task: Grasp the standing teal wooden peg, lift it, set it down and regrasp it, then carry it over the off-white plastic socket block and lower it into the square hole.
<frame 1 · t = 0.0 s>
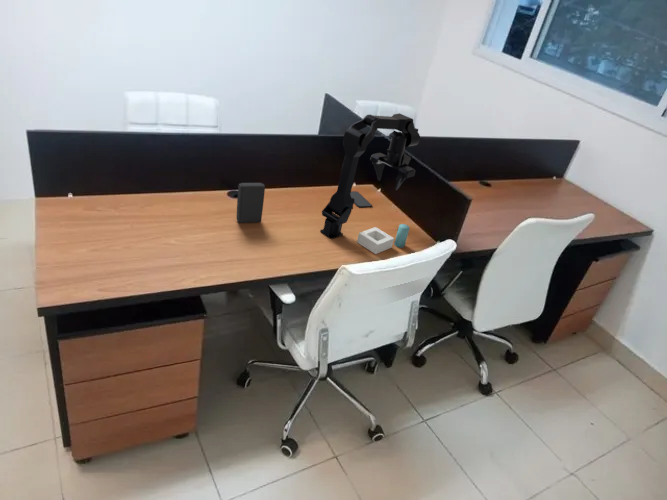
hand: (387, 185, 191), 15 cm above the table, fingers open, 9 cm apart
socket: (374, 244, 179), on the table
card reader: (248, 221, 178), on the table
smartphone: (357, 200, 210), on the table
peg: (399, 244, 182), on the table
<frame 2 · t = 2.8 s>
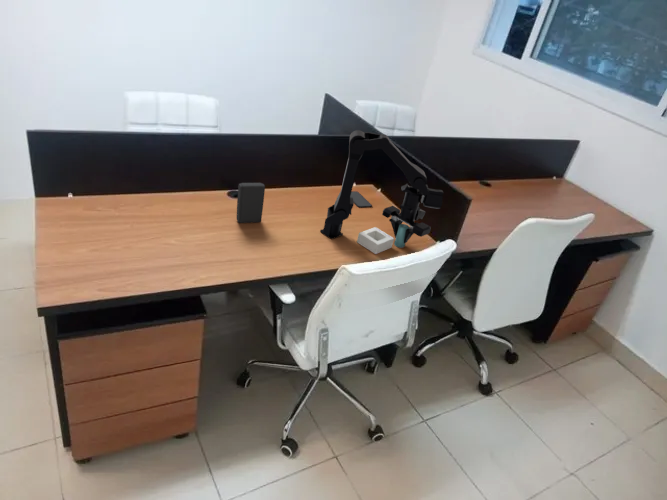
hand: (400, 240, 181), 2 cm above the table, fingers closed on peg, 4 cm apart
peg: (399, 244, 182), on the table, touching gripper
everything else where it was.
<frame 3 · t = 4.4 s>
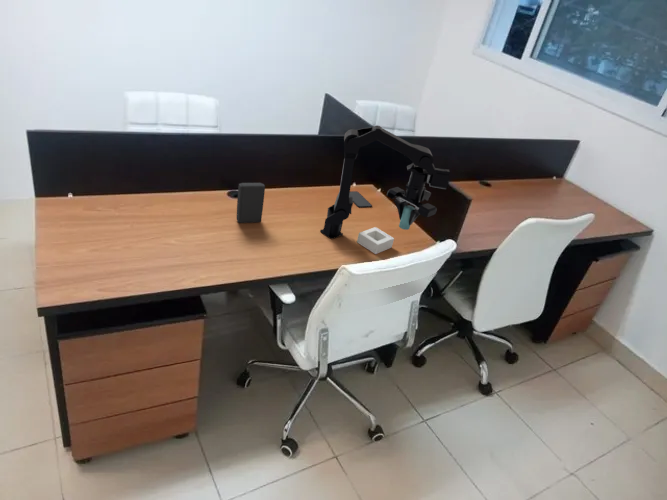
hand: (405, 222, 177), 10 cm above the table, fingers closed on peg, 4 cm apart
peg: (404, 226, 178), point 8 cm above the table, touching gripper
everything else where it was.
when the fingers open (2 cm above the table, at t = 6.0 s): peg stays where it is, on the table.
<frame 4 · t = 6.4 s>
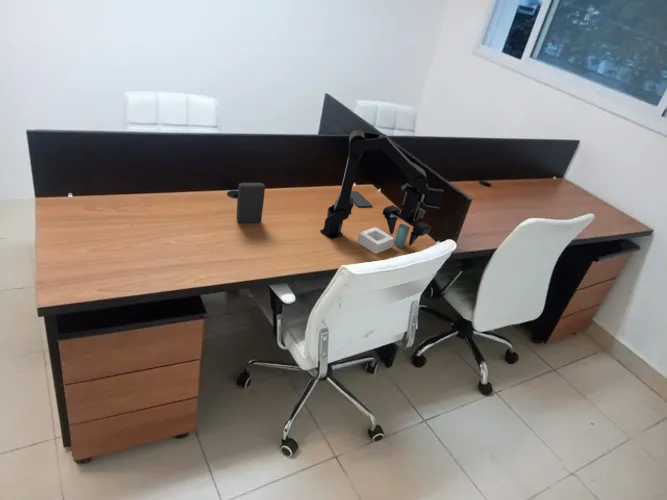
hand: (400, 239, 181), 2 cm above the table, fingers open, 9 cm apart
peg: (399, 244, 182), on the table
everything else where it was.
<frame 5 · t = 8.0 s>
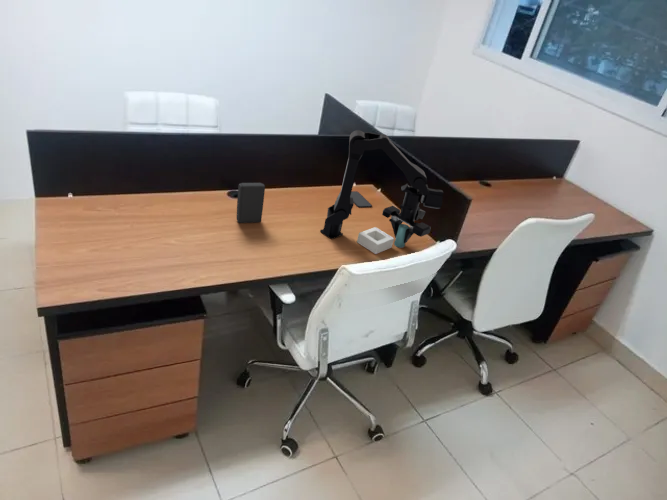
hand: (400, 240, 181), 2 cm above the table, fingers closed on peg, 4 cm apart
peg: (399, 244, 182), on the table, touching gripper
everything else where it was.
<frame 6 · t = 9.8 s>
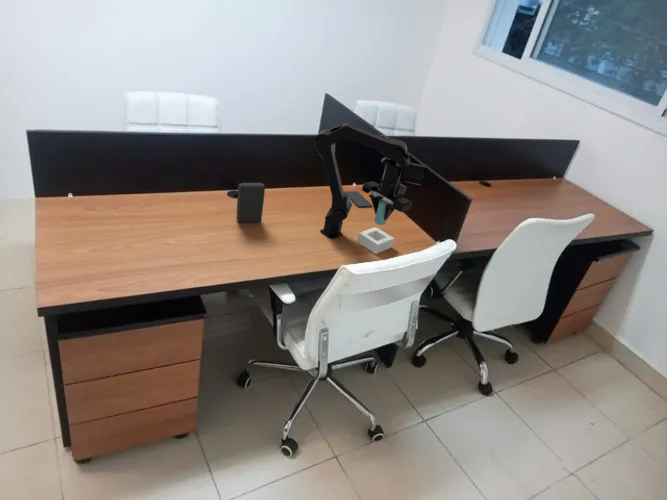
hand: (381, 217, 173), 12 cm above the table, fingers closed on peg, 4 cm apart
peg: (379, 222, 174), point 10 cm above the table, touching gripper
everything else where it was.
when the fingers open (4 cm above the table, at t = 11.7 s): peg drops 2 cm, resting in socket.
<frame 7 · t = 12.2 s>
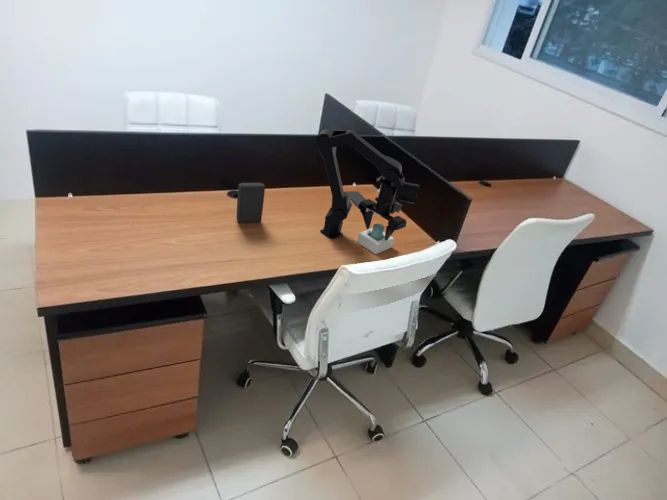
hand: (376, 234, 176), 4 cm above the table, fingers open, 9 cm apart
peg: (374, 244, 179), resting in socket
everything else where it was.
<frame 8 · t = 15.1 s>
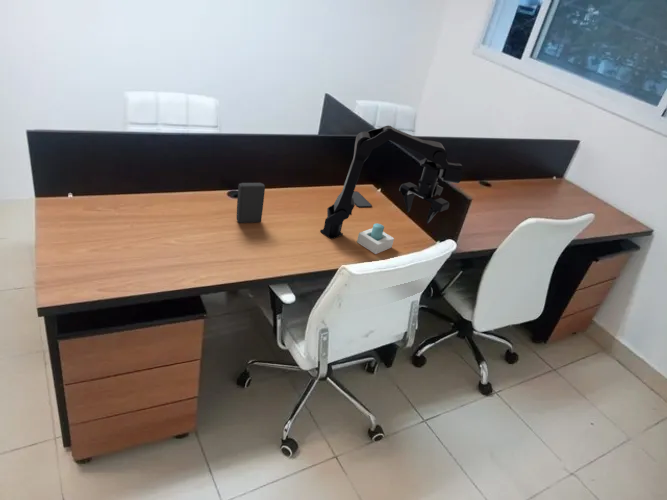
hand: (417, 217, 177), 12 cm above the table, fingers open, 9 cm apart
nothing on the table moved.
at the end: peg 0.0 cm off-centre on the socket, point 0.0 cm above the socket's base; peg tilted 0°; the gripper is holding nothing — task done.
